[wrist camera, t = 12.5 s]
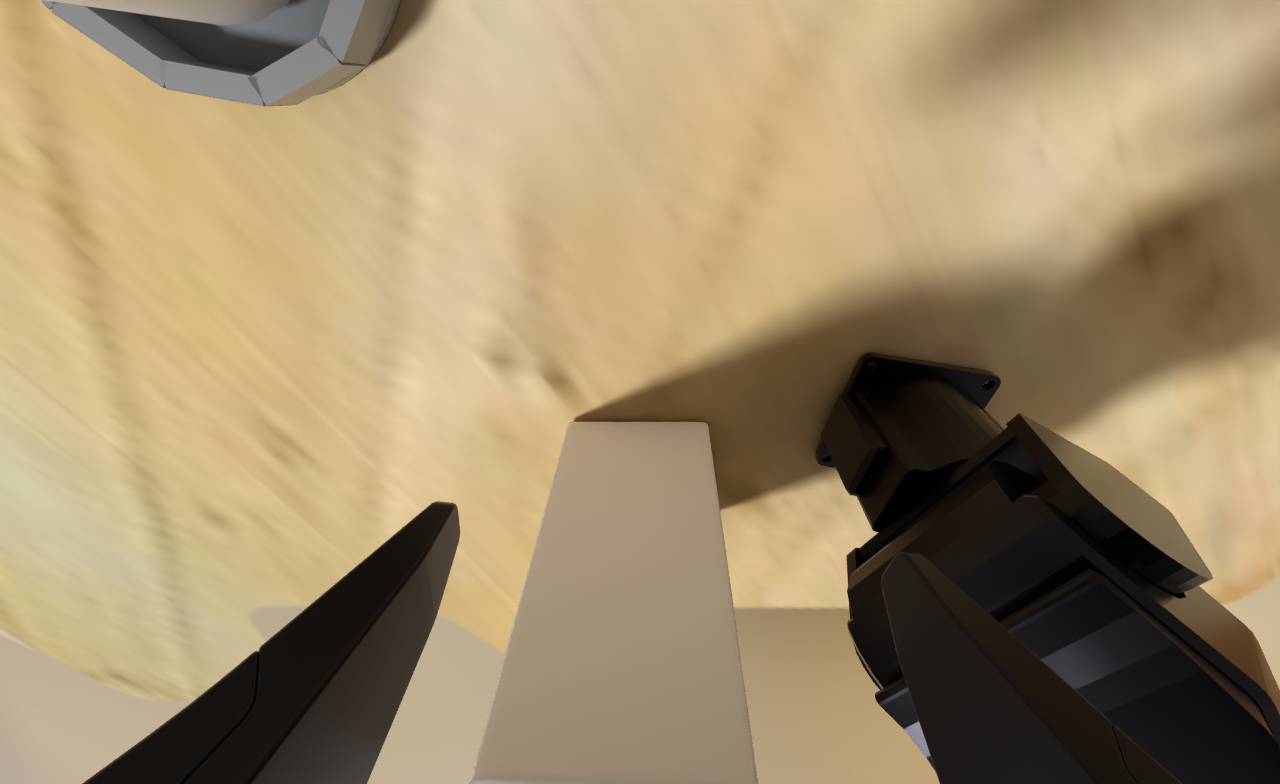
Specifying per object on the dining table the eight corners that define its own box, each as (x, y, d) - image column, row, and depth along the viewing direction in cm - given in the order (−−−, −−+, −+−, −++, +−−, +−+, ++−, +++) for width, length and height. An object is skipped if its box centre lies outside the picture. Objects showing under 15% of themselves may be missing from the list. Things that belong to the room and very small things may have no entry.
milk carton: (701, 517, 28) (756, 1099, 12) (581, 515, 28) (477, 1081, 12) (708, 419, 24) (803, 1090, 8) (568, 419, 24) (390, 1064, 8)
